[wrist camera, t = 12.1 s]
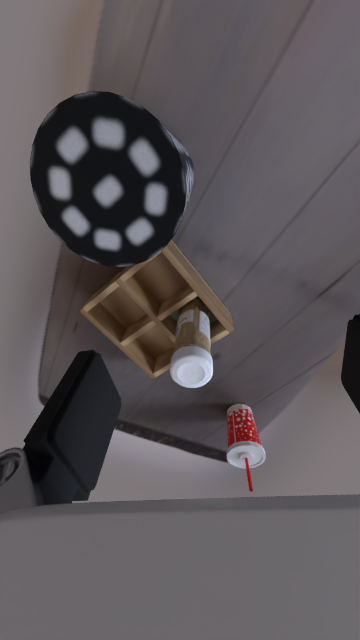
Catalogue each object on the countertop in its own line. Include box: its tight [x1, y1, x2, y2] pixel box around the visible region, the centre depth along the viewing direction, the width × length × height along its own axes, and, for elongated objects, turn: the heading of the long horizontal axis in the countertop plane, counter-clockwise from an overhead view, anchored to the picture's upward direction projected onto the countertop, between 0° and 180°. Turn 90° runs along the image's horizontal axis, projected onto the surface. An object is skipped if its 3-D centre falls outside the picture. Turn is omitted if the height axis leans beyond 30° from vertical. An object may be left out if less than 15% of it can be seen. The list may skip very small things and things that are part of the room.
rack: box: [79, 240, 234, 379], centre depth 38 cm, size 15×15×5 cm
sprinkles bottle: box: [170, 299, 213, 388], centre depth 34 cm, size 5×5×13 cm
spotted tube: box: [30, 91, 194, 267], centre depth 23 cm, size 8×8×20 cm
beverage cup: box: [227, 404, 266, 491], centre depth 44 cm, size 6×6×14 cm
